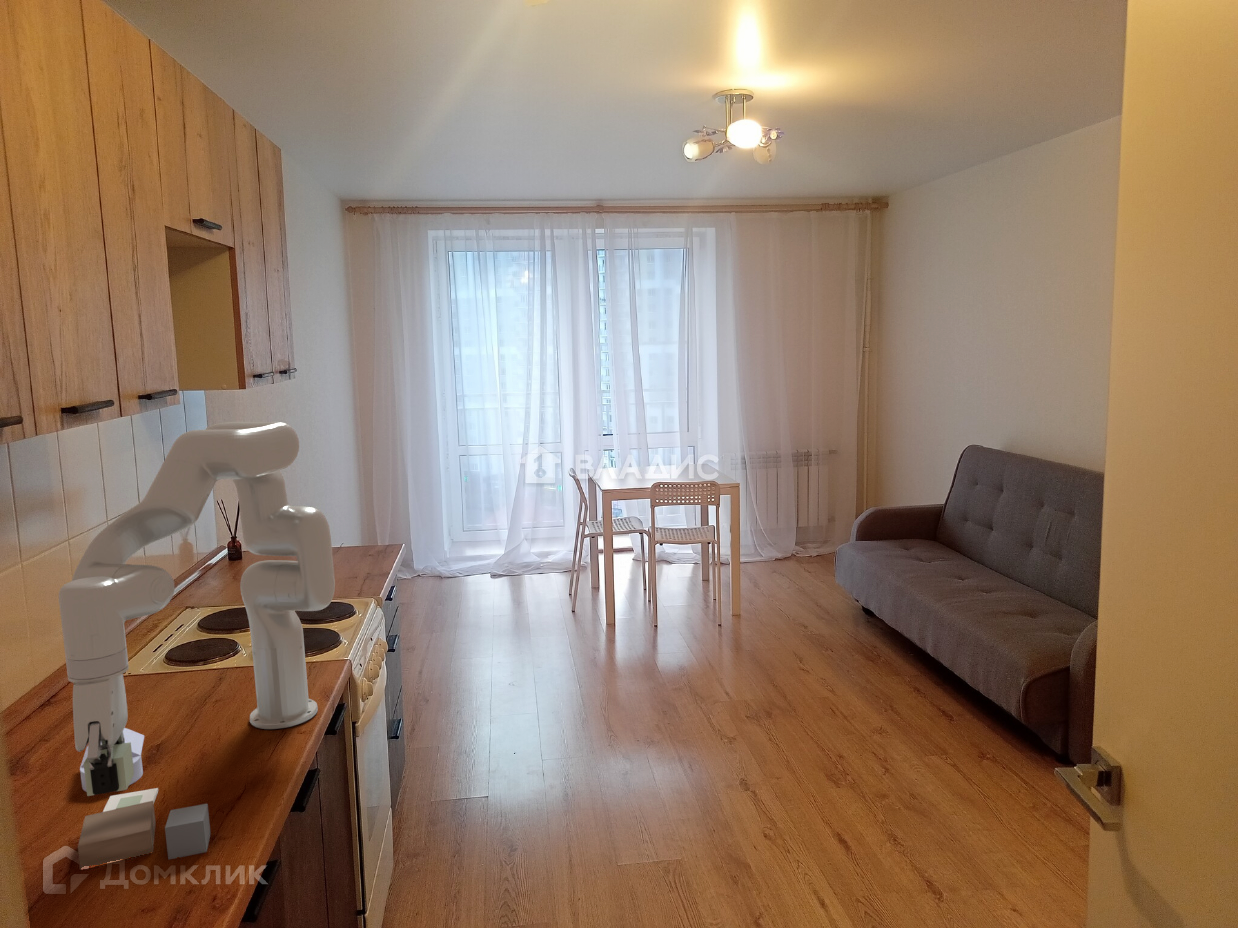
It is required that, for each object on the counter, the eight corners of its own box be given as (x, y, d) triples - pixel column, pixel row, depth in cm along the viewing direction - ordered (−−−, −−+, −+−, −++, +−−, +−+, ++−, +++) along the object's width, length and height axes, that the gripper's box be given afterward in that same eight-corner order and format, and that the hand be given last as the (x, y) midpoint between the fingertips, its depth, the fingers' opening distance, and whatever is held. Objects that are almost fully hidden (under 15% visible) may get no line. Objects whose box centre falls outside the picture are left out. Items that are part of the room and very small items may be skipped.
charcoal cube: (173, 841, 128) (170, 810, 127) (210, 834, 130) (207, 803, 129) (168, 859, 124) (164, 827, 123) (206, 852, 125) (203, 820, 124)
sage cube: (96, 779, 127) (92, 747, 127) (134, 773, 129) (130, 742, 128) (87, 795, 123) (83, 763, 122) (126, 789, 124) (123, 756, 123)
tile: (110, 799, 140) (110, 794, 140) (158, 791, 143) (157, 786, 143) (100, 821, 134) (99, 816, 134) (150, 812, 136) (149, 807, 136)
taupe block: (88, 840, 129) (85, 815, 129) (155, 824, 133) (153, 800, 133) (81, 872, 121) (77, 846, 121) (153, 854, 125) (150, 829, 125)
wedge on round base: (89, 764, 153) (78, 798, 141) (84, 728, 152) (73, 759, 140) (146, 752, 157) (140, 784, 145) (142, 717, 156) (136, 747, 144)
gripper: (84, 648, 130) (96, 761, 132) (49, 689, 114) (64, 817, 116) (139, 641, 132) (151, 753, 135) (113, 681, 116) (126, 806, 119)
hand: (110, 781), depth 126 cm, fingers closed on sage cube, 4 cm apart
